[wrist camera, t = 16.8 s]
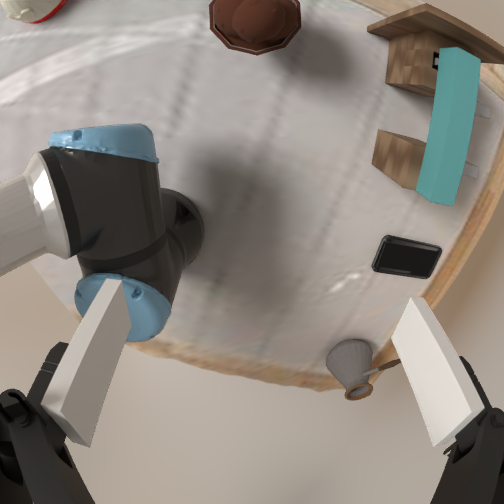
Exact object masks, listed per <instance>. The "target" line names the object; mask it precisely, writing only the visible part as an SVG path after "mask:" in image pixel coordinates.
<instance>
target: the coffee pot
mask: <svg viewBox="0 0 504 504" xmlns="http://www.w3.org/2000/svg"><path fill="white" fill-rule="evenodd" d="M372 354H373V352H372V348H371V347H370V346H369V345H368V344H367V343H365V342H363V341H359V340H354V339H350V340H345V341H342V342H340V343H339V344H337V345H336V346H335V347H334V348H333V349H332V350H331V351H330V353H329V354H328V356H327V359H326V366H327V368H328V370H329V371H330V372H331V373H332V374H333V375H334V376H335V378H336V379H337V380H338V381H339V382H340V383H341V384H342V385H343V386H344V387H345V389H346V392H345V398H346V399H348V400H359V399H362V398H365V397H367V396H369V395H370V394H371V393H372V391H373V386H372V385H371V384H369V382H368V379H369V375H370V374H372V373H375V372H377V371H381V370H384V369H387V368H390V367H394V366H395V365H397V364H398V363H402V362H401V360H400V359H397V360H393V361H390V362H388V363H386V364H384V365H382V366H380V367H378V368H375V369H372V370H370V367H371V361H372Z"/></svg>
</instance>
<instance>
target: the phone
mask: <svg viewBox="0 0 504 504" xmlns="http://www.w3.org/2000/svg"><path fill="white" fill-rule="evenodd" d="M441 252H442V249H441V248H440V247H439V246H436V245H432V244H427V243H423V242H418V241H414V240H409V239H405V238H400V237H395V236H390V235H386V236H384V237H383V239H382V241H381V243H380V246H379V248H378V251H377V253H376V256H375V258H374V261H373V263H372V269H373V270H374V271H375V272H379V273H386V274H393V275H400V276H407V277H414V278H421V279H427V278H429V277H430V276H431V274H432V272H433V270H434V268H435V265H436V263H437V261H438V259H439V257H440V255H441Z"/></svg>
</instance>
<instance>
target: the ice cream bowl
mask: <svg viewBox="0 0 504 504" xmlns="http://www.w3.org/2000/svg"><path fill="white" fill-rule="evenodd" d="M209 14H210V30H211V31H212V32H213V33H214V34H215V35H216V36H217V37H218V38H219V39H220V40H221V41H222V42H223V43H224V44H225V46H226V47H227V48H228V49H232V50H237V51H241V52H245V53H249V54H253V55H260V54H263V53H267V52H270V51H273V50H277V49H280V48H284V47H286V45H287V44H288V43H289V42H290V40H291V39H292V38H293V37H294V35H295V34H296V33H297V32H298V31H299V29H300V28H301V11H300V2H299V1H298V0H213V1H212V2H211V3H210V5H209Z"/></svg>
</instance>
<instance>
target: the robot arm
mask: <svg viewBox="0 0 504 504" xmlns="http://www.w3.org/2000/svg"><path fill="white" fill-rule="evenodd" d="M48 145H49V146H50V148H49V149H46V150H43V151H40V152H37V153H35V154H34V155H33V157H32V158H31V160H30V162H29V164H28V166H27V168H26V170H25V171H24V172H23V173H22V174H20V175H17V176H15V177H13V178H10V179H8V180H6V181H3V182H1V183H0V277H1V276H3V275H5V274H6V273H8V272H10V271H12V270H14V269H16V268H17V267H19V266H22V265H23V264H25V263H27V262H29V261H31V260H33V259H35V258H37V257H39V256H41V255H43V254H45V253H52V254H54V255H56V256H59V257H61V258H63V259H68V258H70V257H72V256H74V255H77V258H78V261H79V265H80V267H81V270H82V274H83V278H82V279H81V280H80V281H79V282H78V283H77V287H76V291H75V295H74V299H75V304H76V307H77V310H78V311H79V313H80V315H81V316H82V317H83V319H82V321H81V323H80V325H79V327H78V329H77V331H76V332H75V334H74V336H73V338H72V340H71V342H70V344H68V343H63V342H59V343H58V344H56V345H55V346H54V347H53V348H52V349H51V350H50V352H49V354H48V355H47V357H46V359H45V362H44V363H43V365H42V367H41V371H39V373H38V375H37V377H36V379H35V381H34V383H33V385H32V387H31V389H30V391H29V393H28V395H27V397H25V395H24V394H23V393H22V392H20V391H19V390H16V389H8V390H6V391H4V392H2V393H1V394H0V504H33V503H34V504H95V502H94V500H93V499H92V497H91V495H90V493H89V492H88V490H87V488H86V486H85V484H84V482H83V480H82V478H81V476H80V474H79V472H78V470H77V468H76V466H75V464H74V462H73V459H72V457H71V455H70V453H69V450H68V448H67V446H66V444H65V443H64V441H65V438H66V435H67V437H68V438H69V439H70V440H71V441H72V442H74V443H78V444H81V445H84V446H87V447H90V445H91V442H92V438H93V435H94V432H95V428H96V425H97V422H98V419H99V415H100V412H101V409H102V406H103V403H104V400H105V397H106V394H107V391H108V388H109V385H110V382H111V379H112V377H113V374H114V371H115V368H116V366H117V363H118V360H119V357H120V355H121V352H122V349H123V347H124V344H125V342H142V341H147V340H150V339H152V338H154V337H155V336H156V335H157V334H159V333H160V332H161V331H162V330H163V328H164V326H165V324H166V322H167V319H168V318H169V316H170V314H171V307H172V304H173V300H174V297H175V294H176V290H177V287H178V284H179V280H180V277H181V274H182V271H183V269H184V268H185V267H186V266H188V265H189V264H190V263H191V262H192V261H193V260H194V259H195V258H196V257H197V255H198V253H199V251H200V249H201V246H202V243H203V239H204V224H203V220H202V217H201V215H200V213H199V211H198V210H197V208H196V207H195V206H194V204H193V203H192V202H191V201H190V200H189V199H187V198H186V197H185V196H183V195H181V194H180V193H178V192H175V191H173V190H169V189H164V188H160V181H159V173H158V164H157V163H159V159H158V158H157V157H156V150H155V143H154V137H153V133H152V131H151V130H150V129H149V128H148V127H147V126H145V125H143V124H120V125H107V126H98V127H88V128H80V129H73V130H67V131H61V132H54V133H52V134H51V135H50V138H49V142H48ZM391 339H392V342H393V344H394V346H395V348H396V351H397V353H398V355H399V358H400V360H401V362H402V365H403V367H404V370H405V372H406V374H407V377H408V379H409V382H410V384H411V387H412V389H413V392H414V394H415V397H416V400H417V402H418V405H419V408H420V410H421V413H422V416H423V418H424V421H425V424H426V427H427V430H428V433H429V435H430V439H431V441H432V444H433V447H436V446H439V445H443V444H445V443H447V442H449V441H450V440H451V439H452V438H453V437H454V436H455V438H456V442H454V443H453V444H452V445H451V446H450V447H448V448H447V449H446V450H445V451H444V453H443V454H444V455H445V454H446V453H447V452H449V451H450V450H451V452H450V454H448V455H447V456H448V457H449V458H448V461H447V463H446V466H445V469H444V472H443V474H442V477H441V480H440V482H439V484H438V487H437V489H436V492H435V494H434V496H433V498H432V501H431V503H430V504H504V412H503V411H502V410H501V409H499V408H492V406H491V405H490V403H489V400H488V398H487V396H486V394H485V392H484V390H483V388H482V386H481V384H480V382H478V379H477V377H476V375H474V371H473V369H472V368H471V366H470V364H469V363H468V362H467V361H466V360H465V359H464V358H463V357H462V356H458V355H457V353H456V351H455V349H454V347H453V346H452V344H451V342H450V340H449V339H448V337H447V335H446V334H445V332H444V330H443V329H442V327H441V325H440V324H439V322H438V320H437V319H436V317H435V315H434V314H433V312H432V311H431V309H430V307H429V306H428V304H427V303H426V301H425V300H424V298H423V297H411V298H410V300H409V302H408V304H407V307H406V309H405V311H404V313H403V315H402V317H401V319H400V321H399V323H398V325H397V327H396V329H395V331H394V333H393V335H392V337H391ZM32 500H33V501H32Z"/></svg>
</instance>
